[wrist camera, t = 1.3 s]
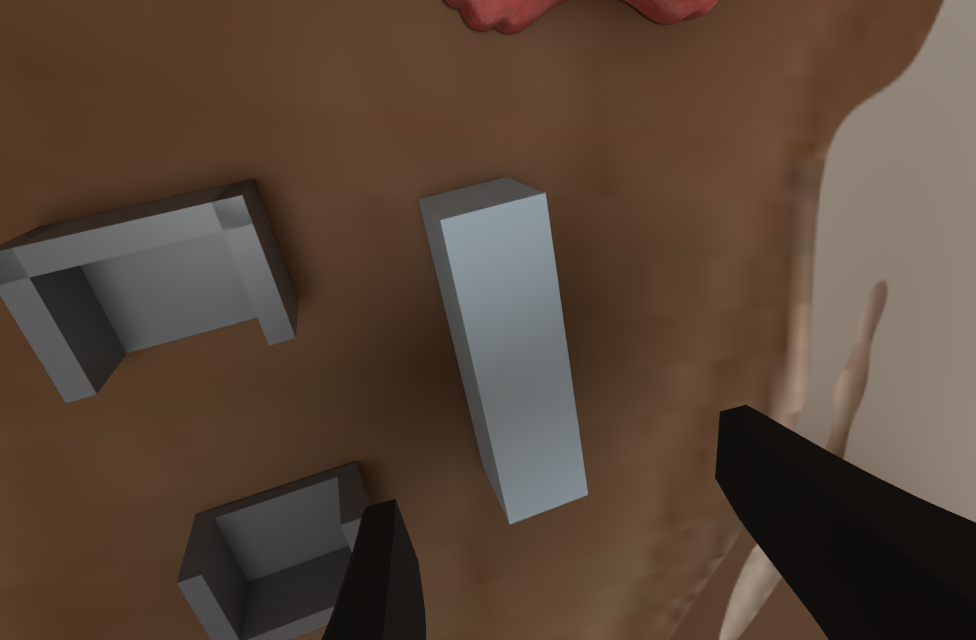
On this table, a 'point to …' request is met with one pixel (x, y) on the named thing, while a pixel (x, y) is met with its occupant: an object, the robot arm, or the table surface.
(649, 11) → the stacking bear
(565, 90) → the table surface
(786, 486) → the robot arm
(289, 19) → the table surface
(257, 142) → the table surface
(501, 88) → the table surface
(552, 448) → the light grey rectangular bar
